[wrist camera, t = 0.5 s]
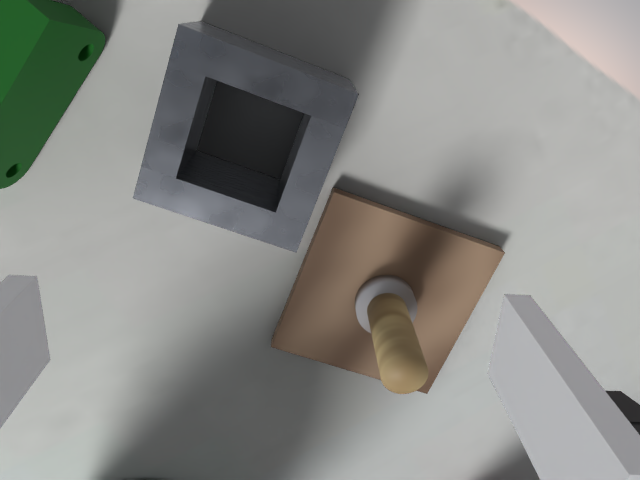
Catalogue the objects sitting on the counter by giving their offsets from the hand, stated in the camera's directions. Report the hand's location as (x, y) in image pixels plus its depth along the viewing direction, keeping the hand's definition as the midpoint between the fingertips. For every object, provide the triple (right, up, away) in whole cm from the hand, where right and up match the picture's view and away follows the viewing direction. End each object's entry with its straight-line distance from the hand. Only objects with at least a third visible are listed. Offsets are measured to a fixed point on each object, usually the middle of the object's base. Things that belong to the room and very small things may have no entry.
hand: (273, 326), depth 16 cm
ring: (-3, +9, +17) cm, 20 cm away
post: (+6, -1, +22) cm, 23 cm away
